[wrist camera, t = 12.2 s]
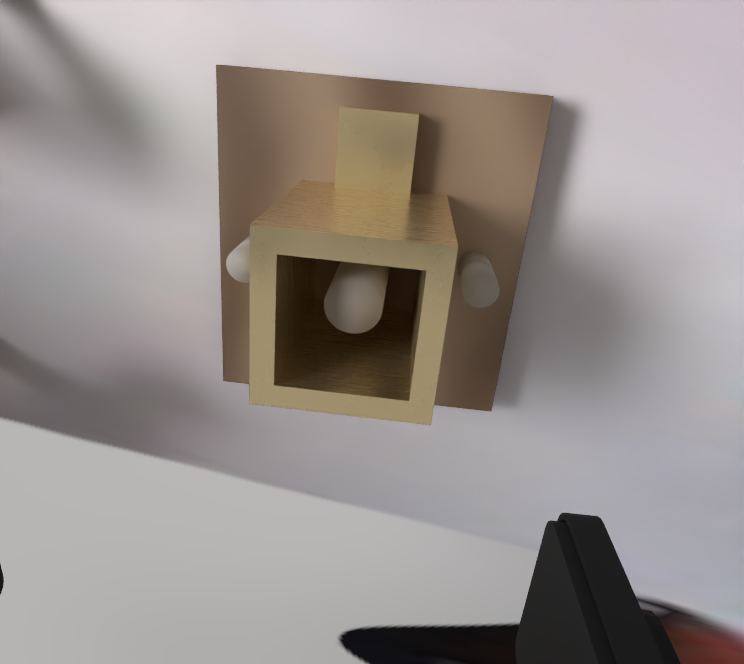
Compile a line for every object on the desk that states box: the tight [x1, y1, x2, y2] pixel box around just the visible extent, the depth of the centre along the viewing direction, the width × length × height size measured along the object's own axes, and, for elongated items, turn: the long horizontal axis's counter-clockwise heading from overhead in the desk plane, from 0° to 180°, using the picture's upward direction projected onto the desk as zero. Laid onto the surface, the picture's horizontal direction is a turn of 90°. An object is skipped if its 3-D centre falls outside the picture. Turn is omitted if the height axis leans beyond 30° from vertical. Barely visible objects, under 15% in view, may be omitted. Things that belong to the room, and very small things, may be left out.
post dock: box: [216, 65, 554, 411], centre depth 23 cm, size 13×14×8 cm
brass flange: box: [249, 106, 458, 425], centre depth 21 cm, size 12×6×8 cm, turn 175°
